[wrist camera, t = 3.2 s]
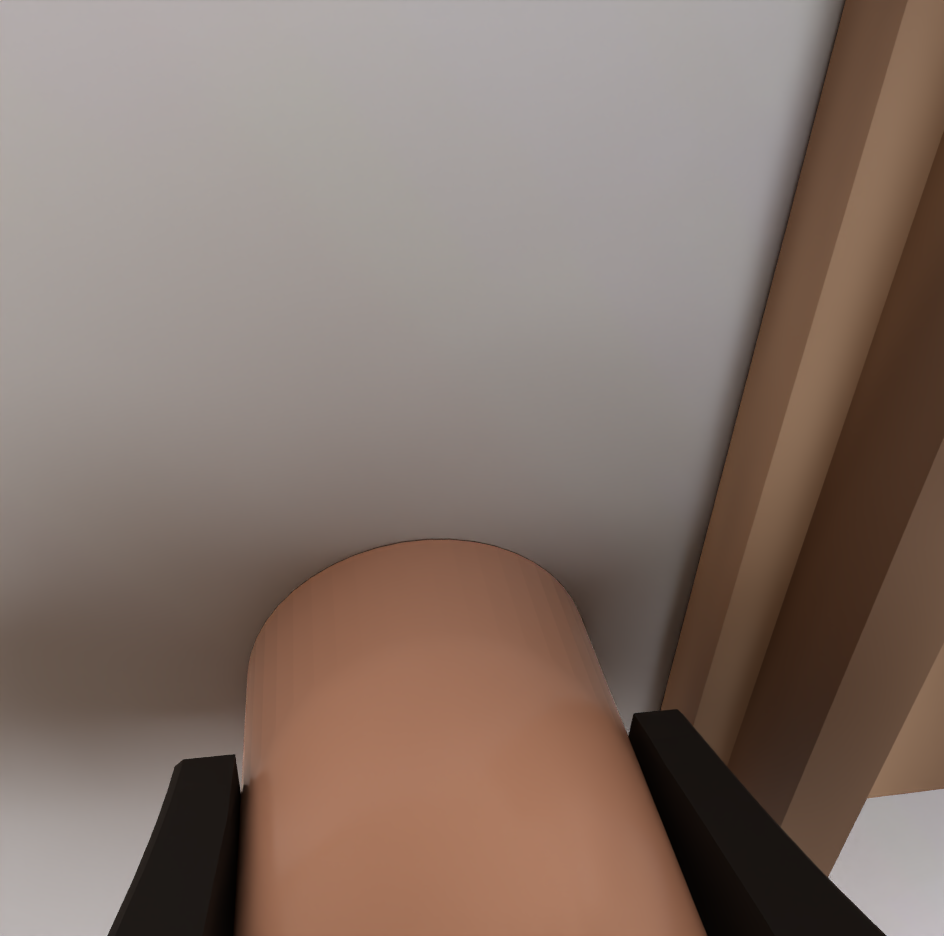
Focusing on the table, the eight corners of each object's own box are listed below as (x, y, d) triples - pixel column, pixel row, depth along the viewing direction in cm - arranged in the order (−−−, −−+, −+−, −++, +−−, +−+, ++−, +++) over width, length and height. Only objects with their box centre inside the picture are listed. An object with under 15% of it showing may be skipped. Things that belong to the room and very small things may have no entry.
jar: (614, 522, 12) (917, 1116, 6) (568, 766, 15) (746, 1327, 9) (222, 546, 11) (147, 1268, 5) (255, 801, 14) (230, 1450, 8)
